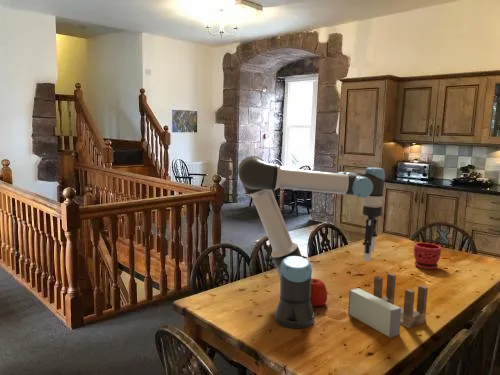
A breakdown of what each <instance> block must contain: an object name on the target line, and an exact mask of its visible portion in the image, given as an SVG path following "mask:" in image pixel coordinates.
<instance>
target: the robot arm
mask: <svg viewBox="0 0 500 375" xmlns="http://www.w3.org/2000/svg"><path fill="white" fill-rule="evenodd" d="M237 172H238V174H237V175H238V178H239V181H240V182H241V184H242V186H243V188H244V192H245V194H246V196H248V197H251V199H252V201H253V203H254V205H255V208H256V210H257V213H258V216H259V219H260V221H261V224H262V227H263V229H264V231H265V234H266V237H267V239H268V241H269V243H270V246H271V249H272V251H271V253H270V255H271V259H272V261H273V264H274V266H275V269H276V271H277V275H278V278H279V281H280V283H279V291H280V292H279V300H278V304H277V307H276V310H275V312H274V320H275V322H276V323H277V324H278V325H281V326H282V327H285V328H289V329H304V328H309V327H311V326H312V325H313V324H314V323H315V312H314V309H313V306H312V305H311V301H310V297H311V279H312V273H313V269H312V263H311V261H310V260H309V259H308V258H304V257H303V256H302V253H301V251H300V248H299V245H298V244H297V243H295V242H293V240H292V238H291V235H290V233H289V230H288V227H287V225H286V223H285V220H284V217H283V215H282V212H281V209H280V207H279V205H278V202H277V200H276V196H275V194H274V192H273V191H276V190H277V189H288V190H296V191H305V192H306V191H308V192H318V193H325V194H336V195H337V194H339V195H347V196H354V197H357V198H361V199H362V198H363V199H362V204H363V205H362V215H364V216H367V218H366V220H365V233H364V242H362V245H363V258H362V260H363V262H365V261H366V262H371V261H372V253H375V249H376V248H375V247H376V246H375V244H376V237H377V238H378V234H377V223H378V220H377V217H378V218H379V217H382V215H383V207H382V206H383V202H384V201H385V198H384V188H385V180H386V179H385V176H386V174H385V173H386V172H385V169H384V168H382V167H376V166H375V167H374V166H373V167H371V166H370V167H366V168H365V171H363V172H357V171H355V172H354V171H353V172H352V171H337V172H328V171H318V170H309V169H307V170H306V169H298V168H288V167H281V166H280V165H279V164H277V163H270V162H266V161H264V159H262V158H261V157H259V156H255V155H251V156H248V157H246V158H244V159H242V160H241V162H240V163H239V164H238V166H237Z"/></svg>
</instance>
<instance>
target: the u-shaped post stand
mask: <svg viewBox="0 0 500 375" xmlns="http://www.w3.org/2000/svg"><path fill="white" fill-rule="evenodd" d="M396 277H397V276H396V274H394V273H391V272H387V275H386V292H385V293H386V294H385V296H382V295H383V285H384V284H383V280H384V279H383V277H380V276H378V275H374V281H373V292H372V295H374V296H376V297H378V298H380V299H382V300H385V301H387V302H389V303H391V304H393V305H395V306H397V307H399V308H401V317H400V326H403V327H404V328H407V329H410V328H413V327H416V326H419V325H422V324H424V323H426V322H427V319H426V314H427V302H428V291H429V290H428V287H427V286H425V285H422V284H420V285H417V287H418V288H417V297H416V298H417V299H416V310H414V304H415V302H414V301H415V293H416V292H415V291H414V290H412V289H410V288H406V289H404V297H403V298H404V299H403V307H401V306H398V305H396V304H395V293H396V292H395V291H396V280H397V279H396Z"/></svg>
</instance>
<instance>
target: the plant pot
mask: <svg viewBox="0 0 500 375" xmlns="http://www.w3.org/2000/svg"><path fill="white" fill-rule="evenodd" d="M441 252H442V246H440V245H437V244H434V243H429V242H428V243H427V242H417V243H415V244H414V246H413V253H414V254H413V256H414V259H415V261H414V265H415V266H416V267H417V268H419V269H424V270H435V269H437V268H438V267H439V265H438V262H439V260H440V257H441Z"/></svg>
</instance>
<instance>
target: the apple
mask: <svg viewBox="0 0 500 375" xmlns="http://www.w3.org/2000/svg"><path fill="white" fill-rule="evenodd" d="M310 301H311V305H312V307H323V306H324V305H325V304H326V302H327V301H328V291H327V286H326V285H325V283H324V281H322V280H321V279H317V278H311V297H310Z"/></svg>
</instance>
